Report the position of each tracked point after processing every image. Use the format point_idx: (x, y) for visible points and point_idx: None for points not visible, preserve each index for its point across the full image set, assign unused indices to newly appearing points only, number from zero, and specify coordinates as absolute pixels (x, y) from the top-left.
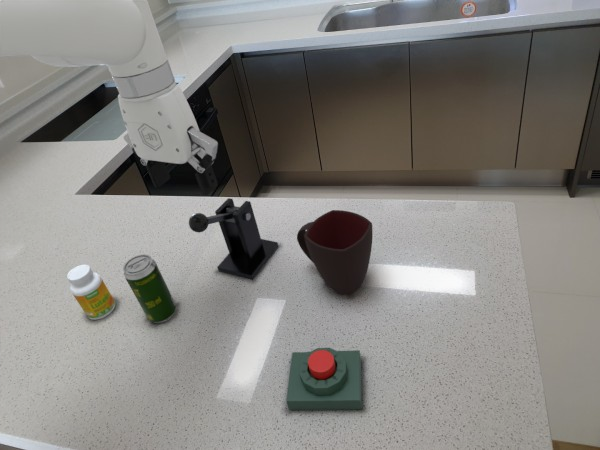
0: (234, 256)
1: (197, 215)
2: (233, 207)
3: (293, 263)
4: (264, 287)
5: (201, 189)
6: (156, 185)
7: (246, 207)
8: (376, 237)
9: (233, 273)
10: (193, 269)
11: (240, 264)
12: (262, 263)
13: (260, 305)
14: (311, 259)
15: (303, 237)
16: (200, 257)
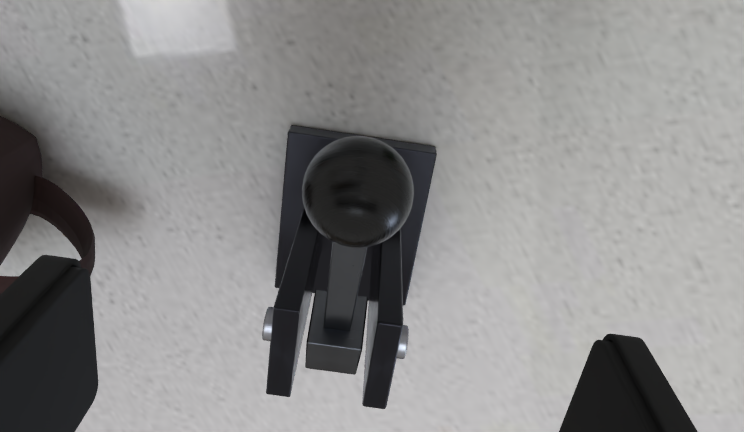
0: None
1: (340, 214)
2: (344, 362)
3: (193, 214)
4: (235, 99)
5: (33, 288)
6: (618, 347)
7: (269, 361)
8: None
9: None
10: (539, 143)
11: None
12: (283, 194)
13: (207, 17)
14: (74, 206)
15: None
16: (538, 202)
